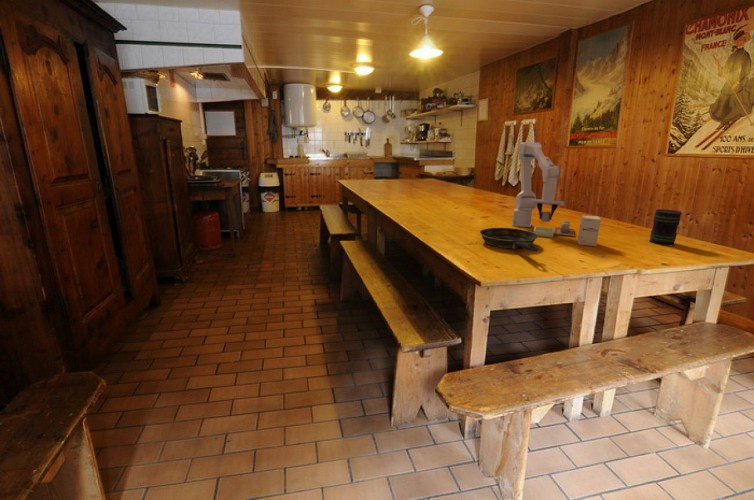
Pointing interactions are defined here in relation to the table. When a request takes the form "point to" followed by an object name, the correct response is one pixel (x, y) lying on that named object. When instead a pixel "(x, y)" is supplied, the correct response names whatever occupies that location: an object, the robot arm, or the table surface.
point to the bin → (544, 232)
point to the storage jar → (665, 227)
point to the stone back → (565, 222)
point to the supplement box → (588, 230)
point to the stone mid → (565, 227)
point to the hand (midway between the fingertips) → (545, 219)
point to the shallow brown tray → (570, 234)
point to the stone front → (545, 216)
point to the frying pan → (510, 238)
